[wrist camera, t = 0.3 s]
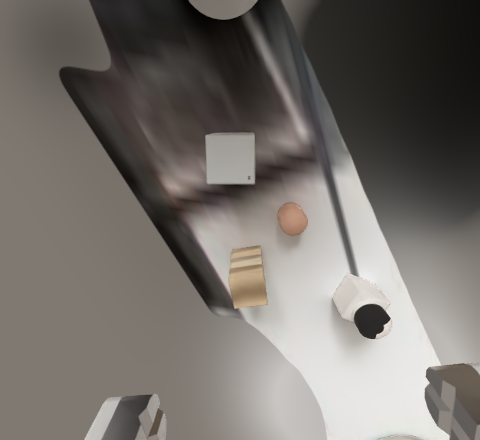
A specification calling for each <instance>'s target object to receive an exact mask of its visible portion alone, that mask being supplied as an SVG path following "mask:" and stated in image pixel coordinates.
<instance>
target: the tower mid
mask: <svg viewBox="0 0 480 440" xmlns="http://www.w3.org/2000/svg"><path fill="white" fill-rule="evenodd" d="M258 264H262V258H261V254H258V255H251V256H244V257H237V258H231V264H230V268H236V267H243V266H251V265H258ZM262 268H263V265H262ZM263 275H264V271H263ZM264 281H265V278H264ZM265 287H266V286H265Z"/></svg>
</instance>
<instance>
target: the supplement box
mask: <svg viewBox="0 0 480 440" xmlns="http://www.w3.org/2000/svg"><path fill="white" fill-rule="evenodd" d="M205 138H206V182H207V184H255V135H254V133H243V132H234V133H212V134H208V135H205Z"/></svg>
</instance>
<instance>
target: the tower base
mask: <svg viewBox="0 0 480 440" xmlns="http://www.w3.org/2000/svg"><path fill="white" fill-rule="evenodd" d="M258 254H261V249H260V246H255V247H247V248H240V249H233V250H232V256H231V258H237V257H244V256H251V255H258ZM261 258H262V255H261ZM262 265H263V261H262ZM263 271H264V268H263ZM264 278H265V276H264Z"/></svg>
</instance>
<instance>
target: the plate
mask: <svg viewBox="0 0 480 440" xmlns="http://www.w3.org/2000/svg"><path fill="white" fill-rule="evenodd" d="M380 440H423V439H422V438H418V437H415V436H409V435H395V436H390V437H385V438H382V439H380Z"/></svg>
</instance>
